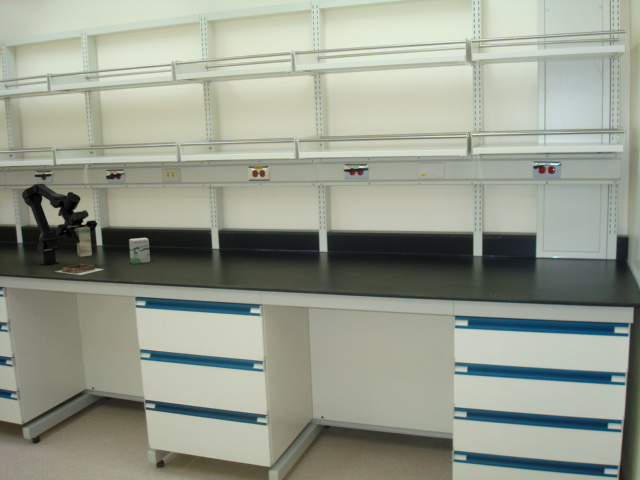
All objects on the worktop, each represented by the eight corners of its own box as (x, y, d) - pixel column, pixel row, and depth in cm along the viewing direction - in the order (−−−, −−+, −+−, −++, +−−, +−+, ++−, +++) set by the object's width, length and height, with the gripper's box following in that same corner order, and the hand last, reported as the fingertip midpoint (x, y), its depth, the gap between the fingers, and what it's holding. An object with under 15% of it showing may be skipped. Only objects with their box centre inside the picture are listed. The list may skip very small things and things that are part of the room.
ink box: (133, 264, 284) (131, 240, 283) (130, 262, 288) (128, 239, 287) (150, 262, 289) (149, 238, 287) (147, 260, 293) (145, 237, 291)
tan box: (77, 255, 272) (75, 227, 270) (88, 254, 276) (86, 226, 274) (80, 256, 269) (78, 228, 267) (92, 255, 273) (89, 227, 271)
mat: (54, 272, 270) (54, 271, 269) (78, 267, 281) (78, 266, 281) (81, 275, 261) (81, 274, 261) (104, 269, 272) (104, 269, 272)
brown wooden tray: (62, 271, 268) (61, 267, 268) (80, 267, 277) (80, 263, 277) (76, 273, 264) (76, 269, 263) (95, 269, 272) (94, 265, 272)
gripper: (56, 207, 264) (72, 232, 259) (93, 203, 278) (109, 227, 274) (48, 223, 269) (64, 248, 265) (85, 218, 284) (100, 242, 280)
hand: (85, 241), depth 271 cm, fingers closed on tan box, 6 cm apart
